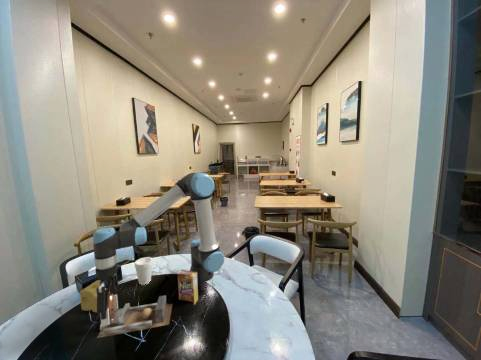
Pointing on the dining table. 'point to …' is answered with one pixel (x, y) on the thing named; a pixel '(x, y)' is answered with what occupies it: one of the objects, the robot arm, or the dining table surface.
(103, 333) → the board
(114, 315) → the ram
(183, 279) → the candy box
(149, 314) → the nut
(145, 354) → the dining table surface
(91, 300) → the cheese
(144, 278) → the foam cup
